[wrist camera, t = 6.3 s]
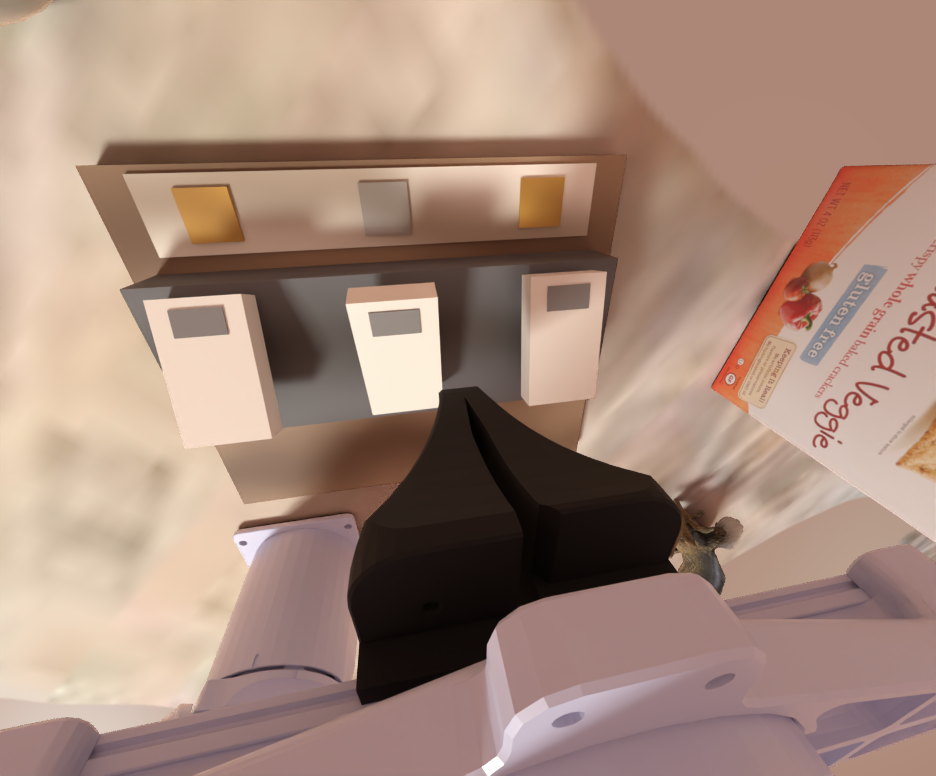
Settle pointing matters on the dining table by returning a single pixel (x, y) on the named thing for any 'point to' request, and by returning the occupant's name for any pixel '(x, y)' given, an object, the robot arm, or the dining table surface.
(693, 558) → the eagle figurine
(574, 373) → the block
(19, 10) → the cup
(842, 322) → the cracker box
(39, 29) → the dining table surface
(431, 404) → the block
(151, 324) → the rocker
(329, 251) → the switch board
